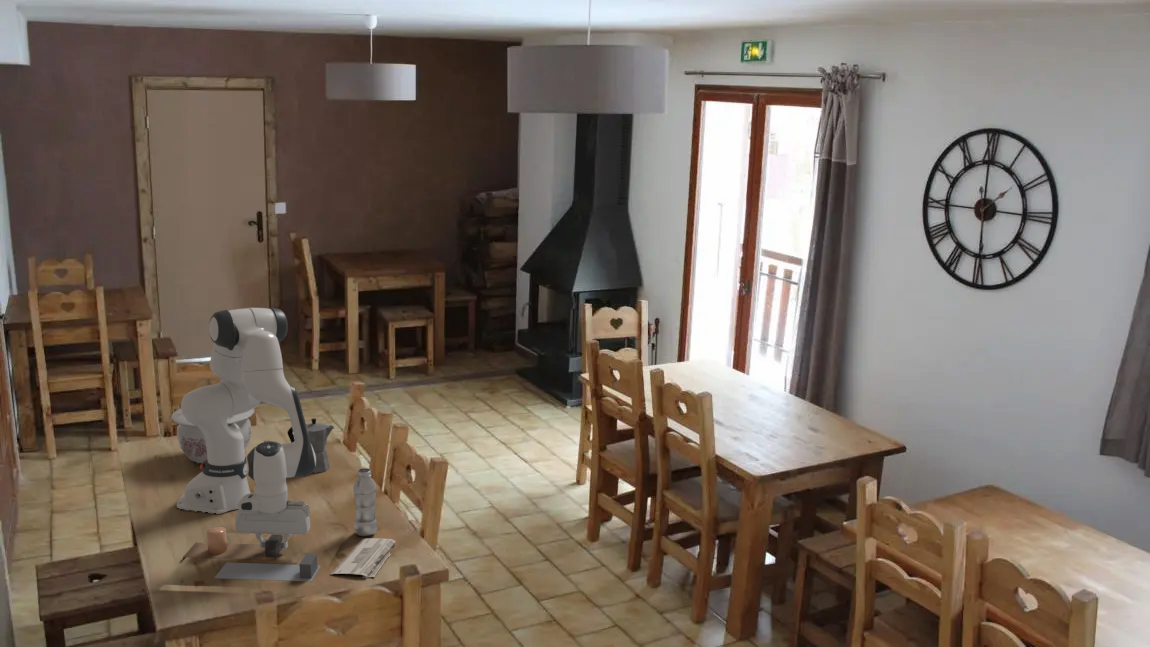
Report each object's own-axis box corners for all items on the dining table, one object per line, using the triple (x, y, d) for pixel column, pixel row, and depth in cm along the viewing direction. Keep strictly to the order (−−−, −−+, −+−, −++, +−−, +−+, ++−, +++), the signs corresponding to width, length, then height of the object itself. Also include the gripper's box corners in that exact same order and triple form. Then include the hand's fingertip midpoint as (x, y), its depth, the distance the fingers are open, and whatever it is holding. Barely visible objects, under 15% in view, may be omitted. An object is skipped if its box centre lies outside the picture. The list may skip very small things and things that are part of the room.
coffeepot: (335, 462, 356) (333, 413, 352) (335, 472, 347) (333, 422, 343) (289, 465, 353) (287, 415, 348) (288, 475, 344) (286, 424, 340)
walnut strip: (183, 560, 282) (181, 543, 280) (196, 546, 290) (194, 529, 289) (276, 563, 281) (275, 546, 280) (286, 549, 290) (285, 532, 289)
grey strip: (214, 582, 270) (212, 564, 269) (226, 566, 279) (225, 549, 278) (311, 585, 269) (310, 567, 268) (321, 569, 278) (320, 551, 277)
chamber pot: (186, 445, 370) (182, 390, 365) (263, 443, 373) (260, 389, 368) (164, 474, 343) (159, 415, 338) (248, 472, 346) (245, 414, 341)
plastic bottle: (355, 529, 303) (353, 466, 299) (378, 529, 304) (377, 466, 299) (352, 539, 297) (350, 474, 292) (376, 538, 298) (374, 474, 293)
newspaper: (373, 582, 273) (372, 573, 273) (330, 581, 276) (329, 573, 275) (403, 545, 295) (402, 537, 294) (363, 544, 297) (362, 536, 297)
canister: (205, 554, 283) (204, 534, 282) (212, 546, 288) (210, 526, 287) (223, 554, 283) (221, 534, 282) (229, 546, 288) (228, 527, 287)
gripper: (312, 497, 284) (314, 543, 288) (239, 495, 285) (242, 540, 288) (305, 506, 278) (307, 553, 281) (231, 504, 279) (234, 550, 282)
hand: (274, 546), depth 285 cm, fingers open, 4 cm apart
